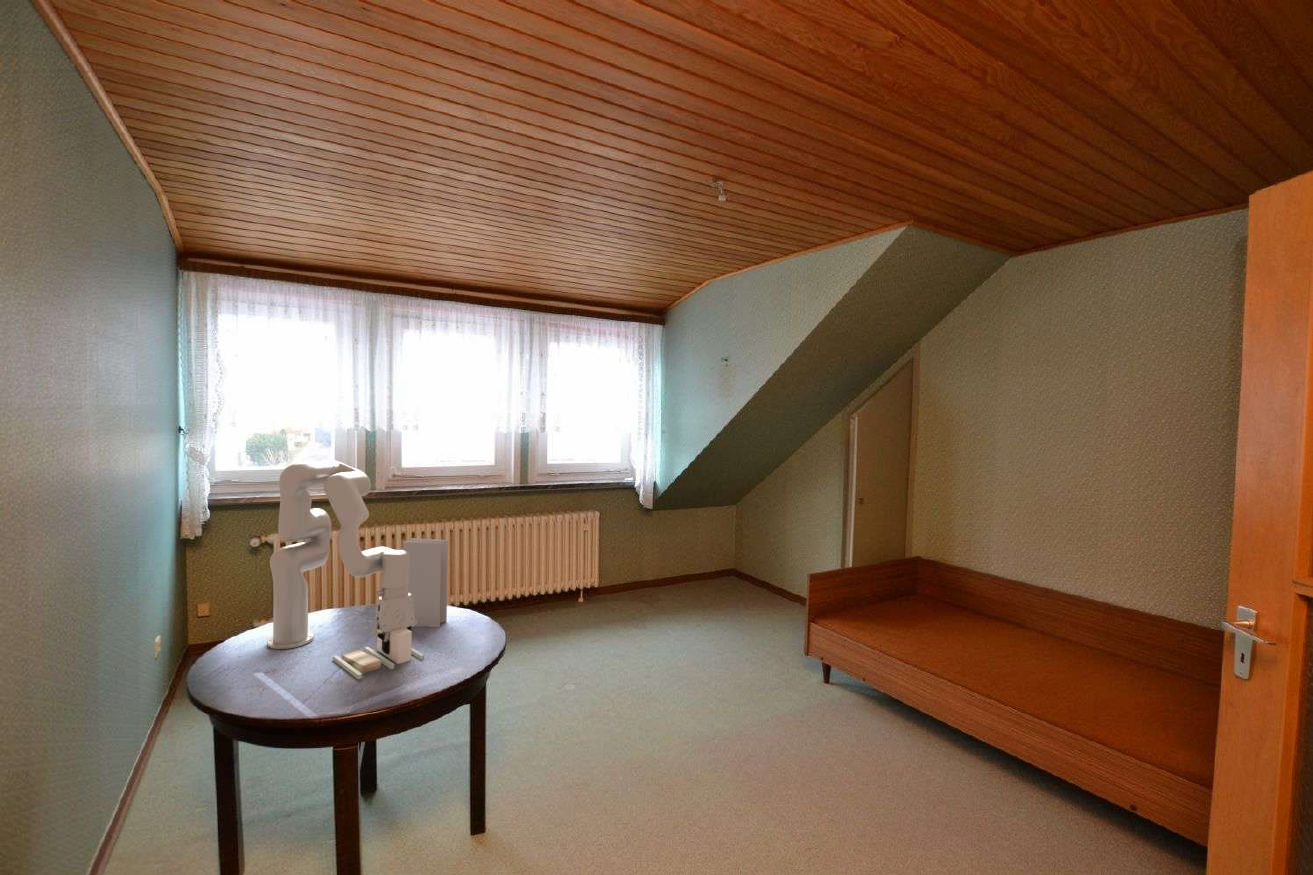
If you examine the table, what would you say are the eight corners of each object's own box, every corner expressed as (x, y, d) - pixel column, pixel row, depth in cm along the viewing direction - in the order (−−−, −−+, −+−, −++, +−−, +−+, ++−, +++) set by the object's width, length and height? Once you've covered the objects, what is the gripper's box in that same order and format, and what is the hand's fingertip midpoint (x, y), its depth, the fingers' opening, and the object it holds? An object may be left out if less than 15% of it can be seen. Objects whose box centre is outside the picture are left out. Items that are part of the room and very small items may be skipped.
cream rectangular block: (377, 654, 177) (377, 622, 177) (390, 650, 180) (390, 619, 180) (397, 668, 168) (398, 635, 168) (411, 664, 171) (411, 631, 171)
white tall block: (446, 622, 206) (448, 540, 205) (439, 627, 201) (441, 543, 200) (409, 619, 208) (410, 538, 207) (401, 624, 202) (402, 541, 201)
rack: (332, 664, 169) (333, 656, 169) (396, 646, 184) (396, 638, 183) (358, 683, 157) (358, 675, 157) (424, 662, 172) (424, 654, 172)
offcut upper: (342, 661, 168) (342, 654, 168) (358, 656, 172) (359, 649, 172) (363, 672, 161) (363, 665, 161) (380, 666, 165) (380, 660, 165)
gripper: (372, 600, 164) (371, 662, 165) (427, 588, 177) (426, 646, 178) (361, 594, 169) (360, 655, 170) (415, 583, 182) (414, 639, 183)
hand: (394, 649), depth 174 cm, fingers closed on cream rectangular block, 4 cm apart
